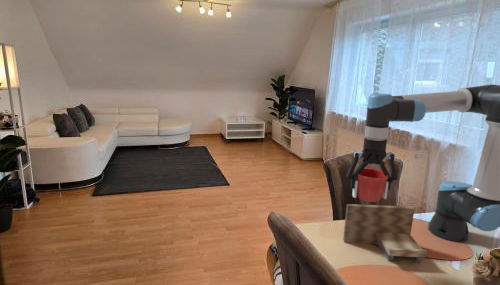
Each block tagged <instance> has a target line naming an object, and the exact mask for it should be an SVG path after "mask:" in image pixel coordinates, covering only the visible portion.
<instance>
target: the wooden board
mask: <svg viewBox="0 0 500 285" xmlns="http://www.w3.org/2000/svg"><path fill="white" fill-rule="evenodd" d="M414 214H415V208H414V207H413V206H408V205H406V206H405V205H404V206H403V205H385V204H384V205H383V204H382V205H380V204H359V203H357V204H356V203H354V204H353V203H352V204H351V203H346V208H345V219H344V228H343V236H342V237H343V238H342V240H343V242H344V243H350V244H351V243H352V244H353V243H355V244H375V243H377V240H378V238H377V236H376V234H377V233H400V234H410V235H411V234H412V233H411V232H412V227H413V221H414V220H413V219H414ZM411 236H412V235H411ZM375 245H376V244H375Z"/></svg>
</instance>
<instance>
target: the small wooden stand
mask: <svg viewBox="0 0 500 285" xmlns="http://www.w3.org/2000/svg"><path fill="white" fill-rule="evenodd" d="M376 236H377V238H378V240H377V247H378V248H379V250H380V251H381V252H382V253H383V255H384V256H385V258H386V260H387V261H388V262H393V261H394V260H393V259H394V257H408V258H411V259H412V260H413V262H415V263H421V259H422V258H427V254H428V251H427V249H424V248H422V247H421V246H420V244H419V243H418V242H417V241H416V240H415V238H414V237H413V236H412V235H410V234H400V233H377V234H376Z"/></svg>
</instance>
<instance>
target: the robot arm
mask: <svg viewBox="0 0 500 285" xmlns="http://www.w3.org/2000/svg"><path fill="white" fill-rule="evenodd" d="M452 111H458V112H459V113H473V114H478V115H479V114H480V115H485V116H486V117H485V121H484V122H486V124H487V125H488V129H487V132H486V136H485V139H484V142H483V143H484V144H483V147H482V151H481V155H480V158H479V162H478V165H477V168H476V173H475V176H474V180H473V184H471V183H467V182H461V181H460V182H459V181H450V180H449V181H443V182H440V185H439V188H438V193H437V200H436V206H435V212H434V214H433V215H432V217H431V219H430V221H429V222H428V226H427V227H428V228H427V229H428V231H429V232H430V233H432V234H433V235H434V236H436V237H438V238H441V239H444V240H446V241H447V240H448V241H453V242H464V241H465V242H466V241H468V239H469V236H470V232H469V227H468V224H469V225H470V226H472V227H474V228H476V229H478V230H479V231H482V232H492V231H495V230H497V229H499V228H500V84H485V85H476V86H469V87H462V88H459V89H457V90H455V91H453V90H452V91H442V92H429V93H428V92H427V93H416V94H414V93H413V94H405V95H404V94H402V95H392V94H390V93H371V94H370V95H369V96H368V100H367V105H366V119H365V127H364V138H363V148H362V151H360V152H358V151H353V154H352V155H353V158H352V160H351V163H350V165H349V167H348V170H347V172H346V175H345V176H346V178H347V179H349V180H350V186H349V187H350V188H351V190H352V194H351V196H352V198H354V199H356V198H357V196H358V190H357V186H358V181H357V178H358V174H361V172H362V171H363V170H364V169H366V167H367V166H368V165H379V167H380V169H381V171H383V173H384V175H385V176H387V175H388V179H387V182H386V185H385V188H384V191H383V194H382V197H381V198H383V199H384V200H387V198H388V192H389V190H391V186H392V183H393V181H397V180H398V176H397V170H396V164H395V154H394V152H387V144H388V140H387V139H388V136H389V128H390V127H389V126H390V122H409V123H413V122H420V121H422V120H424V119H423V118H425V117H426V116H425V115H426V114H428V113H439V112H441V113H442V112H452ZM361 156H362V158H363V159H362V160H360V158H361ZM384 159H387V164H388V166H389V167H388V168H389V171H388V169H387V167H386V165H385V163H384ZM359 160H360V161H361V162H360V164H358V162H359ZM357 165H358V166H357Z"/></svg>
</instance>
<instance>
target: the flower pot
mask: <svg viewBox="0 0 500 285" xmlns="http://www.w3.org/2000/svg"><path fill="white" fill-rule="evenodd" d="M387 179H388V175H387V176H385V175H384V173H383V171H382V170H379V169H374V168H364V170H363V171H362V172H361V174H358V178H357V181H358V186H357V197H358V198H359V199H360V200H361V201H363V202H364V201H365V202H368V203H377V202H379V201H381V200H382V198H383V197H382V194H383V191H384V188H385V185H386V182H387Z"/></svg>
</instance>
